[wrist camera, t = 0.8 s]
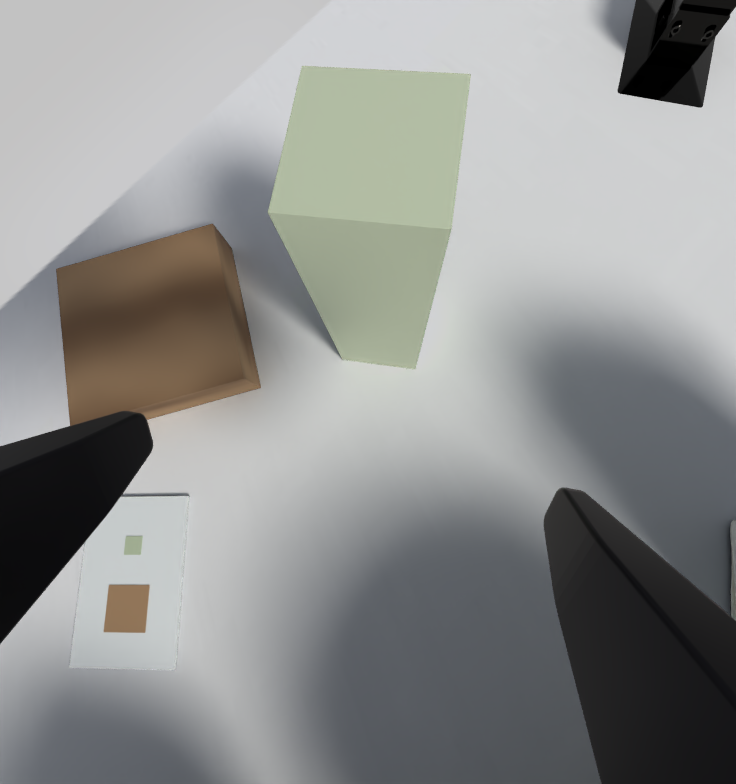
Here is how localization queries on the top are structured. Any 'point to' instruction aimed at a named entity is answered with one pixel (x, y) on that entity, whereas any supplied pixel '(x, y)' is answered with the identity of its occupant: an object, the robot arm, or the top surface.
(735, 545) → the skincare box
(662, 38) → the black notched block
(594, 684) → the robot arm
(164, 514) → the blueprint card
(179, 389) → the foundation slab
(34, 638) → the top surface
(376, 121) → the pillar
